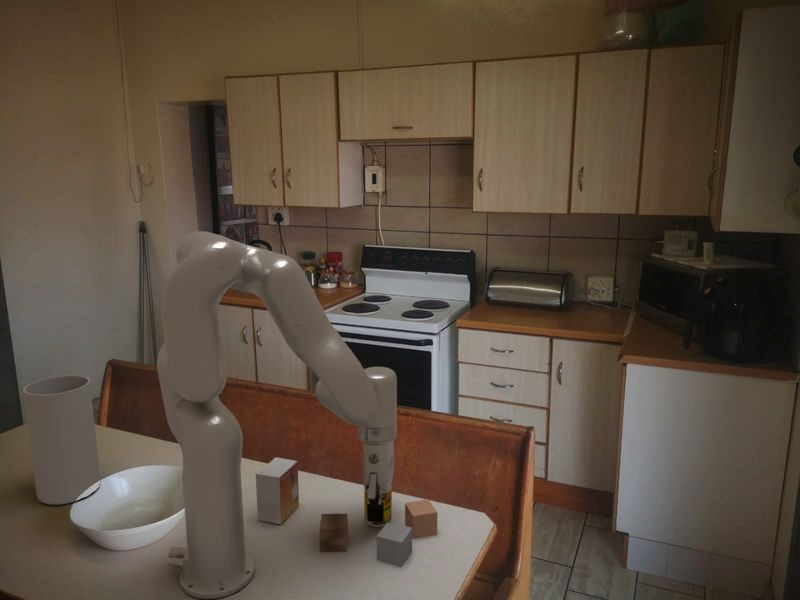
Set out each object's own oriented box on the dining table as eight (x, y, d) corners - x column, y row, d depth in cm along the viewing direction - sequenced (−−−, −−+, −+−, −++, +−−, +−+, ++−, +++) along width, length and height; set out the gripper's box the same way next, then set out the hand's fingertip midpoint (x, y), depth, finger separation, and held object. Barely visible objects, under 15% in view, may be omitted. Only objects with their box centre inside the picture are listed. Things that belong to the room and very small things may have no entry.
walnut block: (320, 552, 114) (319, 528, 113) (322, 537, 119) (321, 514, 118) (346, 552, 114) (346, 528, 113) (347, 536, 119) (347, 513, 118)
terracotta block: (412, 539, 118) (413, 516, 117) (404, 525, 123) (405, 503, 122) (436, 535, 119) (437, 512, 118) (428, 521, 124) (428, 499, 123)
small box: (281, 525, 122) (279, 477, 120) (257, 520, 124) (254, 473, 122) (300, 505, 130) (298, 460, 127) (277, 501, 131) (275, 456, 129)
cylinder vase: (101, 498, 132) (90, 389, 127) (35, 512, 127) (20, 399, 122) (100, 473, 143) (89, 372, 138) (39, 485, 138) (25, 380, 133)
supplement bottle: (373, 531, 120) (373, 484, 118) (359, 518, 125) (359, 472, 123) (396, 523, 123) (397, 476, 121) (382, 510, 128) (382, 465, 126)
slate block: (376, 560, 111) (376, 536, 110) (387, 545, 116) (387, 522, 115) (401, 567, 110) (402, 542, 109) (412, 551, 114) (412, 527, 113)
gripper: (390, 449, 111) (390, 538, 115) (402, 414, 128) (401, 492, 132) (349, 447, 112) (351, 535, 116) (367, 412, 129) (367, 489, 132)
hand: (378, 511), depth 124 cm, fingers closed on supplement bottle, 5 cm apart
